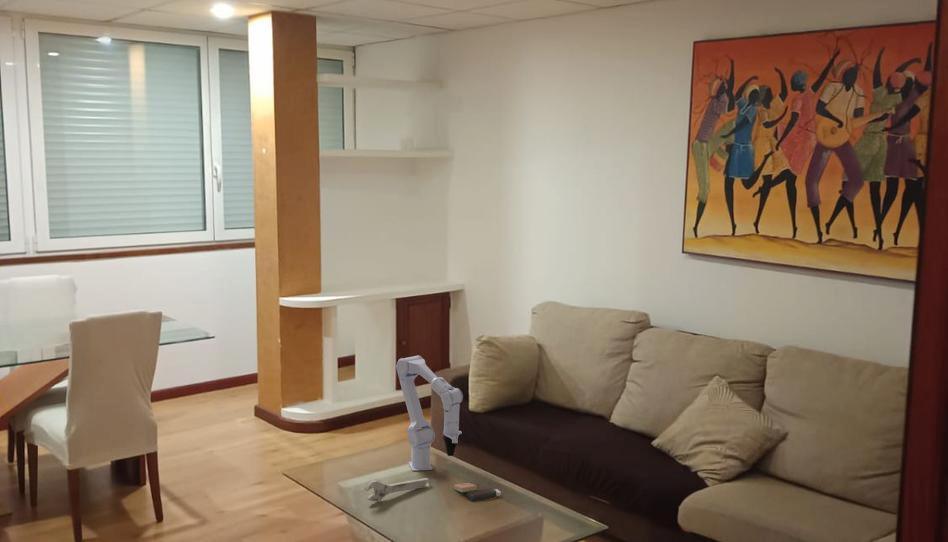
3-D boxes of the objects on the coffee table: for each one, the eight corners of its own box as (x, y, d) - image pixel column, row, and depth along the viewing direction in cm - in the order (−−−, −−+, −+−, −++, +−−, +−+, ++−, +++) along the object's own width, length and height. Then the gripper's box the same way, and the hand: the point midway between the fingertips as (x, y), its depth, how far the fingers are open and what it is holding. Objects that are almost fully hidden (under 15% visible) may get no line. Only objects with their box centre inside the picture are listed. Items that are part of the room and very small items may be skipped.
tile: (453, 484, 301) (461, 487, 293) (468, 482, 303) (476, 485, 295) (454, 489, 301) (461, 492, 293) (469, 487, 303) (477, 490, 295)
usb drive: (465, 497, 294) (466, 490, 294) (495, 493, 299) (495, 486, 299) (471, 503, 290) (471, 495, 289) (501, 498, 294) (502, 491, 294)
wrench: (429, 493, 303) (365, 505, 282) (426, 492, 305) (362, 503, 283) (432, 472, 303) (368, 482, 282) (429, 470, 304) (365, 481, 283)
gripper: (466, 426, 302) (464, 461, 303) (457, 414, 316) (456, 448, 317) (447, 427, 300) (446, 462, 302) (439, 415, 314) (438, 449, 316)
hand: (450, 455), depth 309 cm, fingers closed
